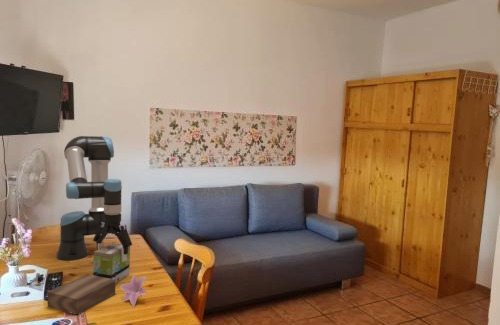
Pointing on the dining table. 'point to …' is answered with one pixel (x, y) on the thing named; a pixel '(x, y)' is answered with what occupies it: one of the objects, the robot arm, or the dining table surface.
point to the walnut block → (81, 293)
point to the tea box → (111, 262)
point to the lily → (133, 289)
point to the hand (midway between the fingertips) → (112, 258)
